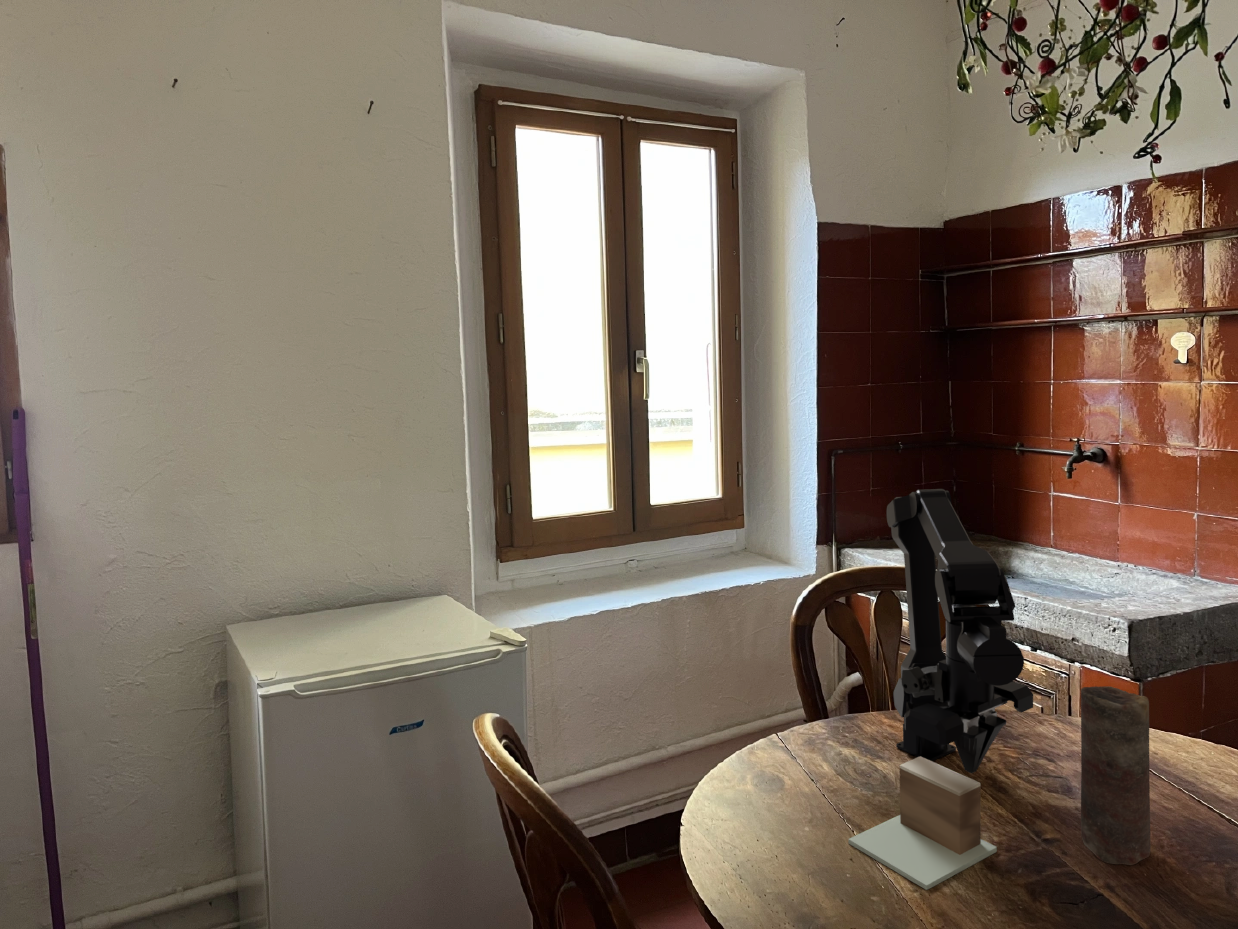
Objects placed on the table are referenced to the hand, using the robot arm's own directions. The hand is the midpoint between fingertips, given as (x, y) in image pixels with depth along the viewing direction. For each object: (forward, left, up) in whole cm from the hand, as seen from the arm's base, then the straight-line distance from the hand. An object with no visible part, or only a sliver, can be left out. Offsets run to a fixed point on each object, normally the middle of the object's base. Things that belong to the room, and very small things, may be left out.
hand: (970, 771), depth 112 cm
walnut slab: (+6, 0, -6) cm, 9 cm away
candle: (-8, +14, -7) cm, 18 cm away
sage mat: (+10, 0, -7) cm, 12 cm away
